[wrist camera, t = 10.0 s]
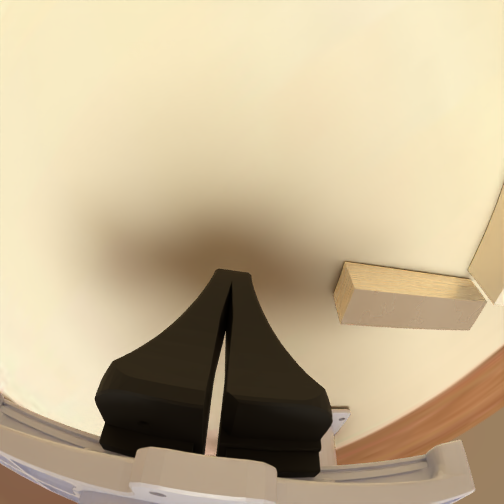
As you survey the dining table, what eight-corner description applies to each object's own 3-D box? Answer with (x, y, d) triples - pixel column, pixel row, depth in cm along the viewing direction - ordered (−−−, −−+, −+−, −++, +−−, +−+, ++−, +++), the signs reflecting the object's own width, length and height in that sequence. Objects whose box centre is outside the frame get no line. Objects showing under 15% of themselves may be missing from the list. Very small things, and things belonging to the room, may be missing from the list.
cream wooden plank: (455, 306, 16) (469, 330, 14) (332, 295, 15) (340, 323, 13) (470, 279, 14) (486, 301, 13) (344, 261, 14) (354, 288, 12)
